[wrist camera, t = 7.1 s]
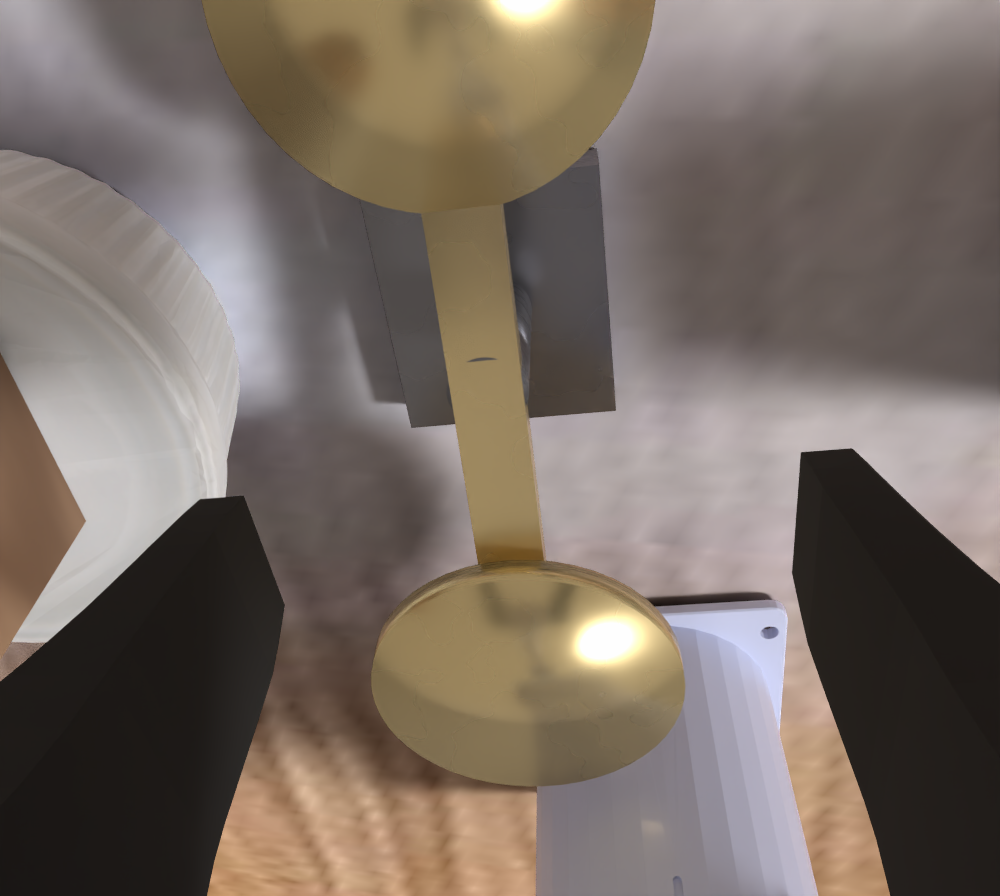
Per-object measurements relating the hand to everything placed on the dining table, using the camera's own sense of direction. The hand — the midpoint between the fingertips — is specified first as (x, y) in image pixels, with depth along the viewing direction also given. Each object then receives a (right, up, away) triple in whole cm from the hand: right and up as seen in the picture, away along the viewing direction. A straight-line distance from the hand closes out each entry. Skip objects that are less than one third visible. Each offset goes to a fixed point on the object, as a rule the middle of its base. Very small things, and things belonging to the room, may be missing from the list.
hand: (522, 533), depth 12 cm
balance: (0, +5, +9) cm, 11 cm away
